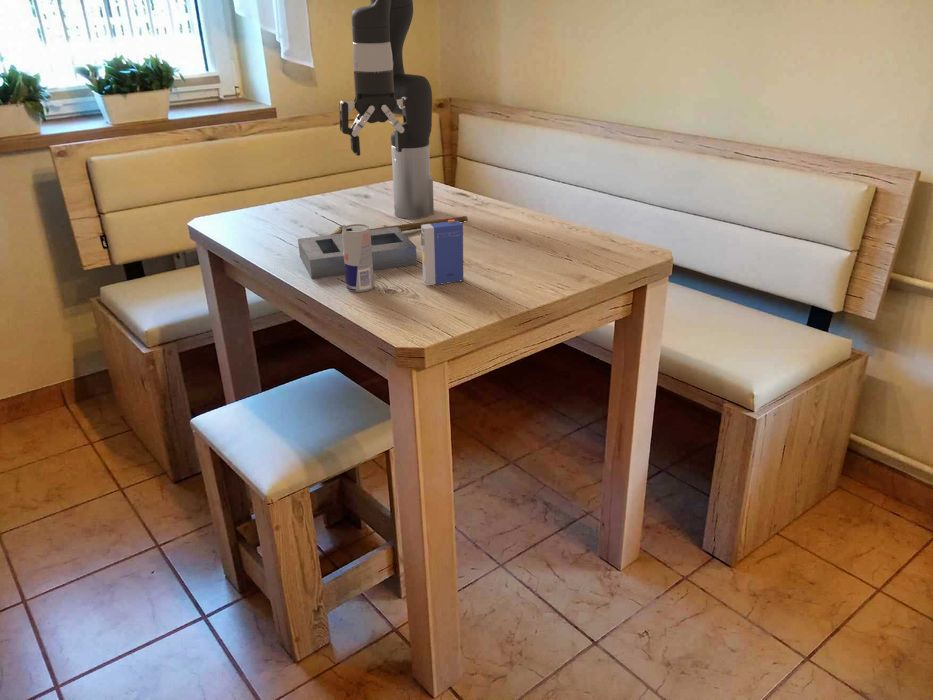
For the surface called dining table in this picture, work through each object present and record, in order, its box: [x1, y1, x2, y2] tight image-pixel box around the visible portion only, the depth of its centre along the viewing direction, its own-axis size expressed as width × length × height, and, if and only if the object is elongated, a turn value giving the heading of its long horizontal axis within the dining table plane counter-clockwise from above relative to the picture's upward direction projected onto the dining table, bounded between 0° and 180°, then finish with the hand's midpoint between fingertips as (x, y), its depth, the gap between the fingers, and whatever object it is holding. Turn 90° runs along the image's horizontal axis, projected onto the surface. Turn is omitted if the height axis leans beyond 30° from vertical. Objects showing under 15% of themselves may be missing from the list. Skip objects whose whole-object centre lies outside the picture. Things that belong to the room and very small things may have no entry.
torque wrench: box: [330, 215, 468, 235], centre depth 175 cm, size 5×35×5 cm
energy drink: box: [342, 223, 375, 293], centre depth 143 cm, size 5×5×12 cm
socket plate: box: [297, 227, 418, 280], centre depth 158 cm, size 22×14×4 cm, turn 111°
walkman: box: [420, 220, 464, 287], centre depth 145 cm, size 8×3×12 cm, turn 110°
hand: (378, 153), depth 151 cm, fingers open, 8 cm apart
